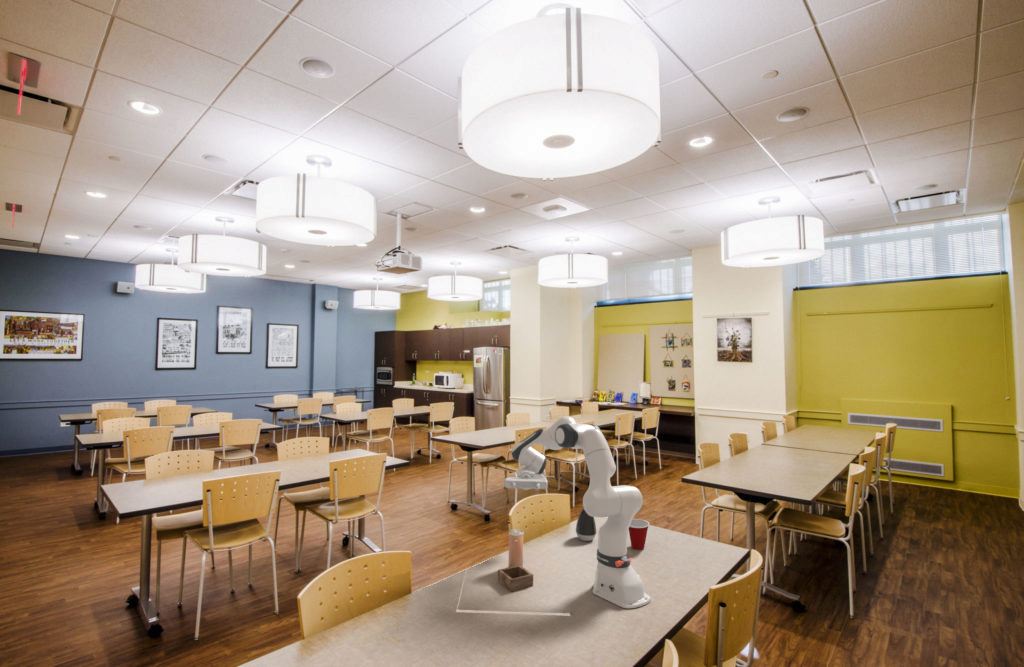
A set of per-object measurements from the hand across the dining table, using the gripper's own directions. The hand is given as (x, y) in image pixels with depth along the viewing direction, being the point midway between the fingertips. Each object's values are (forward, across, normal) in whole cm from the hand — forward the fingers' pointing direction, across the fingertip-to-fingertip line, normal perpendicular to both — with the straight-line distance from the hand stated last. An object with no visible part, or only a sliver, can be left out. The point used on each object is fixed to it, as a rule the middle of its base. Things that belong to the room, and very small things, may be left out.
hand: (526, 487), depth 217 cm
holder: (+30, -4, +30) cm, 43 cm away
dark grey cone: (-21, +31, +30) cm, 48 cm away
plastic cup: (-12, +54, +30) cm, 63 cm away
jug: (+18, -4, +30) cm, 35 cm away
